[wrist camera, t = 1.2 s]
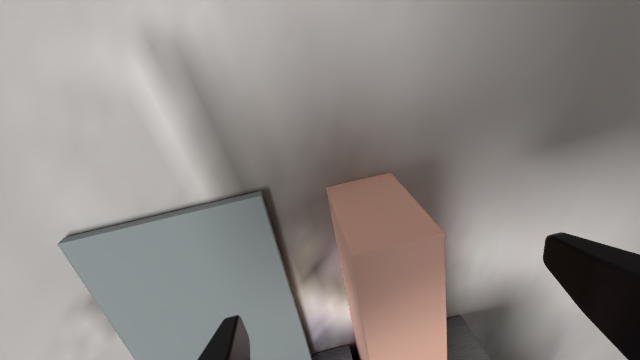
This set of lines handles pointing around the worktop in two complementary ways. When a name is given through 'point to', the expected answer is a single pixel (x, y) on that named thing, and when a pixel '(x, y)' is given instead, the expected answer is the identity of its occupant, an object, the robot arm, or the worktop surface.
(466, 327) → the dispenser
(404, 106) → the worktop surface
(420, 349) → the salmon pink rectangular block
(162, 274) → the mat
